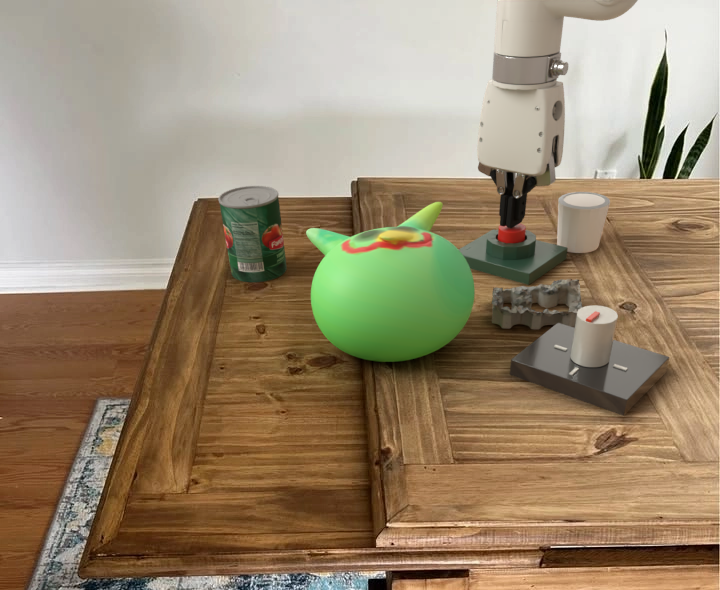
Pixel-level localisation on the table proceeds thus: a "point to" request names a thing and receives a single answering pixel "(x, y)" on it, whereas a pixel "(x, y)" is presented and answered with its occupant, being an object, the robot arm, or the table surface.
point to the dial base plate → (590, 371)
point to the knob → (593, 336)
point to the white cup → (581, 220)
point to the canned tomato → (253, 233)
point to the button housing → (513, 257)
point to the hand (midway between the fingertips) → (511, 223)
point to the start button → (512, 234)
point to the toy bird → (391, 289)
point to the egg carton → (544, 297)
